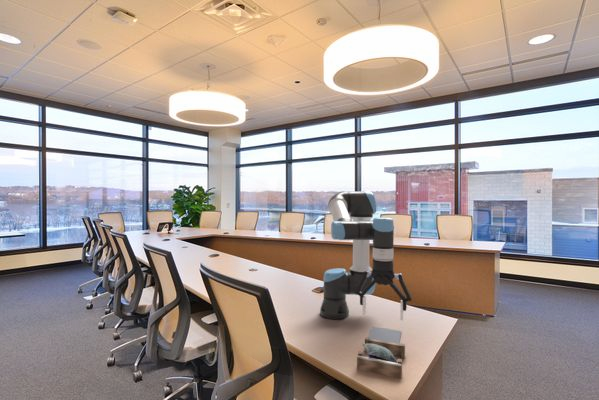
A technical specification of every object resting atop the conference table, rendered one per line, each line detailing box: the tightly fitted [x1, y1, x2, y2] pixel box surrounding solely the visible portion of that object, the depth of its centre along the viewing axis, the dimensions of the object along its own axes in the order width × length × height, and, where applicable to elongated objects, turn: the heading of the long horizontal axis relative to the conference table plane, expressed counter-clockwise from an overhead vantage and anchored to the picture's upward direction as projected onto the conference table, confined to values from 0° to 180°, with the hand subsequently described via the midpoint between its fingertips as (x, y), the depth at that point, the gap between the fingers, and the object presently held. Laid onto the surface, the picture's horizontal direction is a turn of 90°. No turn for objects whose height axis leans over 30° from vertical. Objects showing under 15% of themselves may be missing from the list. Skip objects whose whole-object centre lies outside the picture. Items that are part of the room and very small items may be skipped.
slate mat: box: [367, 326, 402, 344], centre depth 137 cm, size 13×16×1 cm
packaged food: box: [361, 342, 398, 363], centre depth 114 cm, size 9×12×5 cm
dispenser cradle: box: [356, 336, 406, 379], centre depth 116 cm, size 15×18×5 cm
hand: (382, 316), depth 116 cm, fingers open, 13 cm apart
